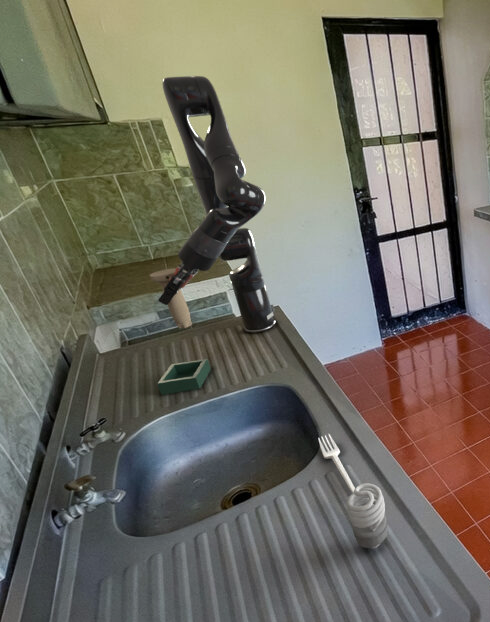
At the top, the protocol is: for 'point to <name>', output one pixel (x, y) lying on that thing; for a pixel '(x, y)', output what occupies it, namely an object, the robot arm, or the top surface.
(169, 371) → the socket
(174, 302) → the handle
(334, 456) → the fork
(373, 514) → the light bulb
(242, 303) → the robot arm
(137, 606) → the top surface
